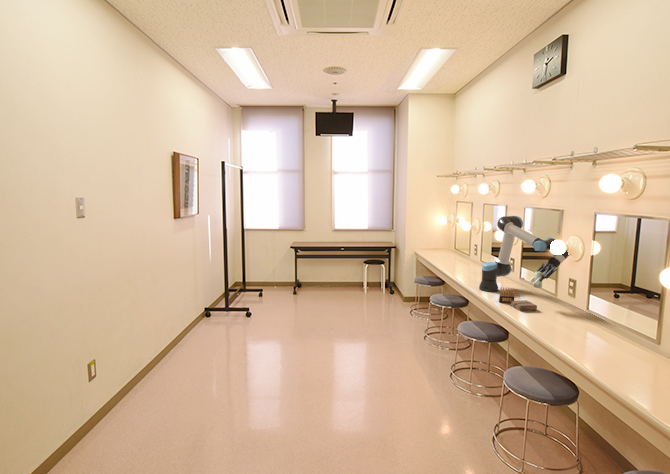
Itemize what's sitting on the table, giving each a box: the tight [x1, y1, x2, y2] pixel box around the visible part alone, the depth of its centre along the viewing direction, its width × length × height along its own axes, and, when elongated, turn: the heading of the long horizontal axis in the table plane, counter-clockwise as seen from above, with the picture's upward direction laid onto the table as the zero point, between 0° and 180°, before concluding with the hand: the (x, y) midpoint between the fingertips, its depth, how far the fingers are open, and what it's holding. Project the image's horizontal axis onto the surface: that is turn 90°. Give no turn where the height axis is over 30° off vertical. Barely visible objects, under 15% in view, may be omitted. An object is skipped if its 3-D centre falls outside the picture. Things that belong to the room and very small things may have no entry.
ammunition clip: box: [498, 286, 515, 304], centre depth 272 cm, size 11×2×12 cm, turn 82°
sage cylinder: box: [533, 271, 544, 289], centre depth 261 cm, size 5×5×11 cm
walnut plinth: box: [510, 300, 538, 312], centre depth 259 cm, size 12×12×4 cm
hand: (533, 282), depth 261 cm, fingers closed on sage cylinder, 5 cm apart
